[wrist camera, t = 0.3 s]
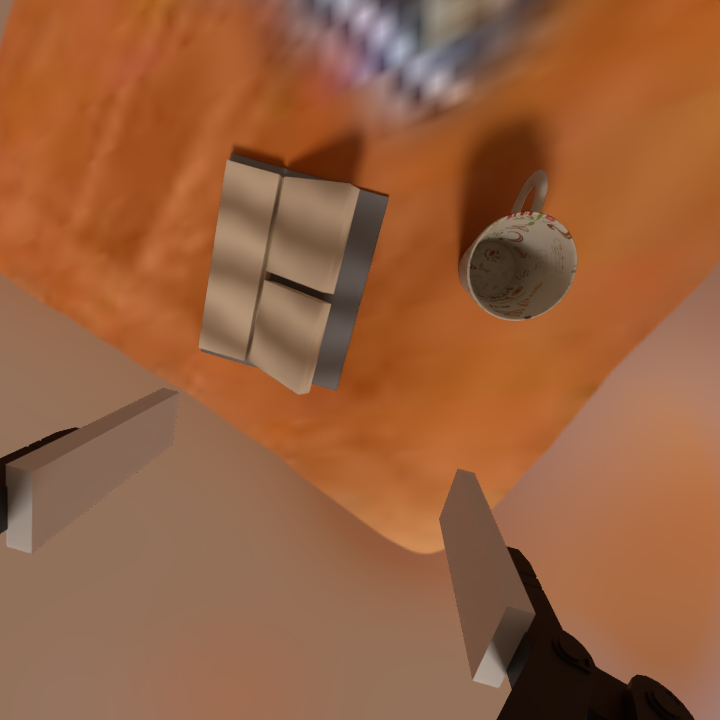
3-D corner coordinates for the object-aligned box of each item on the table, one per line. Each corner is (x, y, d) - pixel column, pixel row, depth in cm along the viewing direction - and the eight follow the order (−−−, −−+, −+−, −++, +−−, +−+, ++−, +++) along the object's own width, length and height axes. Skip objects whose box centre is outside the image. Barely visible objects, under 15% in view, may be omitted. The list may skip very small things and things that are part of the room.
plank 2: (275, 281, 38) (264, 280, 37) (331, 304, 33) (320, 302, 32) (259, 360, 41) (248, 361, 39) (309, 392, 36) (298, 394, 34)
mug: (437, 299, 38) (454, 308, 28) (472, 175, 34) (503, 137, 25) (512, 316, 37) (555, 331, 28) (553, 193, 34) (618, 161, 24)
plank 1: (296, 181, 35) (284, 176, 34) (359, 189, 30) (348, 183, 29) (277, 273, 38) (266, 270, 37) (333, 294, 33) (322, 292, 32)
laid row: (232, 154, 36) (223, 147, 34) (388, 198, 36) (388, 193, 34) (202, 350, 42) (193, 354, 40) (336, 389, 41) (333, 395, 39)
